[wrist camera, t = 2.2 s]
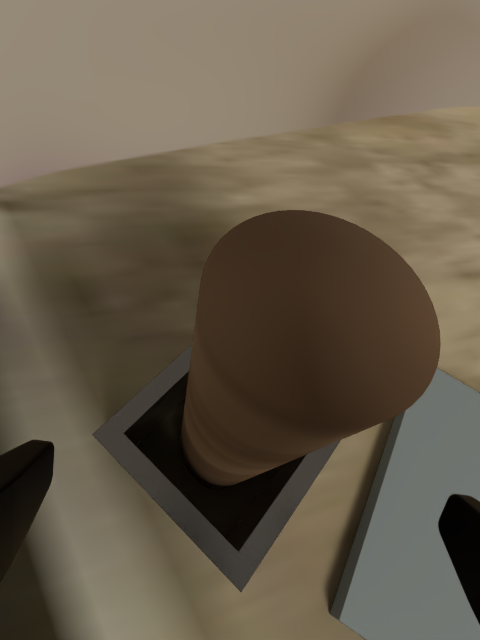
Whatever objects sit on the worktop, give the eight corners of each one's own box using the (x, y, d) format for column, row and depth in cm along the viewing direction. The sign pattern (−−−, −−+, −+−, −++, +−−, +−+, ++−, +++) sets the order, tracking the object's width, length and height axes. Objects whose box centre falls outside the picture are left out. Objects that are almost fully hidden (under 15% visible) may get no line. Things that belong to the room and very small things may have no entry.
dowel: (222, 507, 16) (367, 496, 4) (162, 447, 17) (143, 294, 5) (272, 442, 18) (473, 304, 6) (217, 390, 19) (297, 180, 7)
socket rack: (224, 573, 15) (240, 592, 12) (108, 450, 17) (92, 434, 13) (318, 439, 19) (351, 423, 15) (215, 348, 20) (224, 314, 17)
